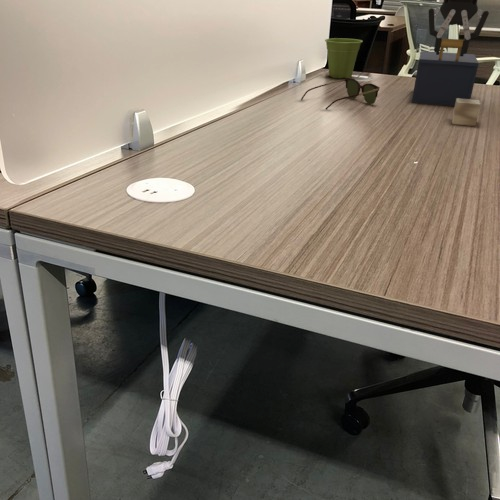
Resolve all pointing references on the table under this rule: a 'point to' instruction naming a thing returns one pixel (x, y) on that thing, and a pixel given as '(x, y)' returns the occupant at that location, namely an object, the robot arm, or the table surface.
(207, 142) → the table surface
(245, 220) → the table surface
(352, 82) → the sunglasses
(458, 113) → the block
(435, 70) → the chest
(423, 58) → the lid
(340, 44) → the plant pot
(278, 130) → the table surface
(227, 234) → the table surface
